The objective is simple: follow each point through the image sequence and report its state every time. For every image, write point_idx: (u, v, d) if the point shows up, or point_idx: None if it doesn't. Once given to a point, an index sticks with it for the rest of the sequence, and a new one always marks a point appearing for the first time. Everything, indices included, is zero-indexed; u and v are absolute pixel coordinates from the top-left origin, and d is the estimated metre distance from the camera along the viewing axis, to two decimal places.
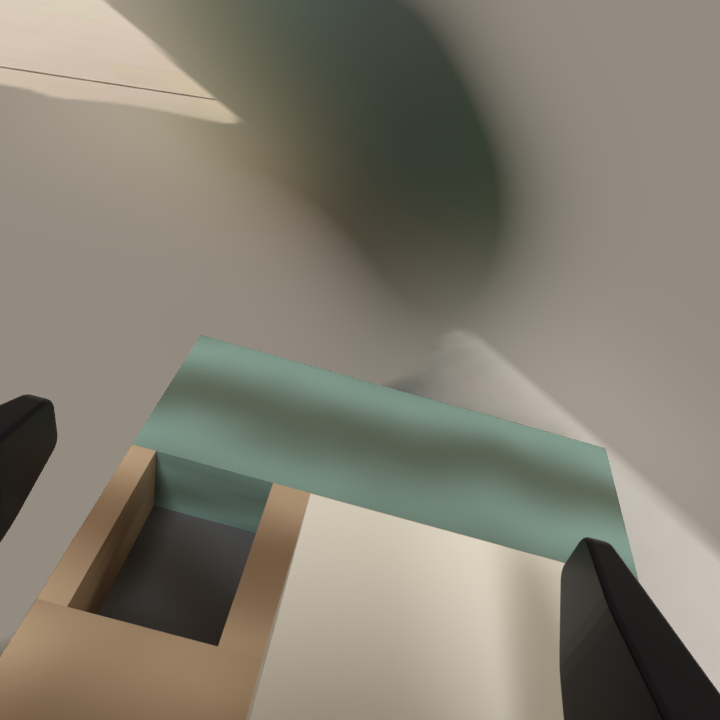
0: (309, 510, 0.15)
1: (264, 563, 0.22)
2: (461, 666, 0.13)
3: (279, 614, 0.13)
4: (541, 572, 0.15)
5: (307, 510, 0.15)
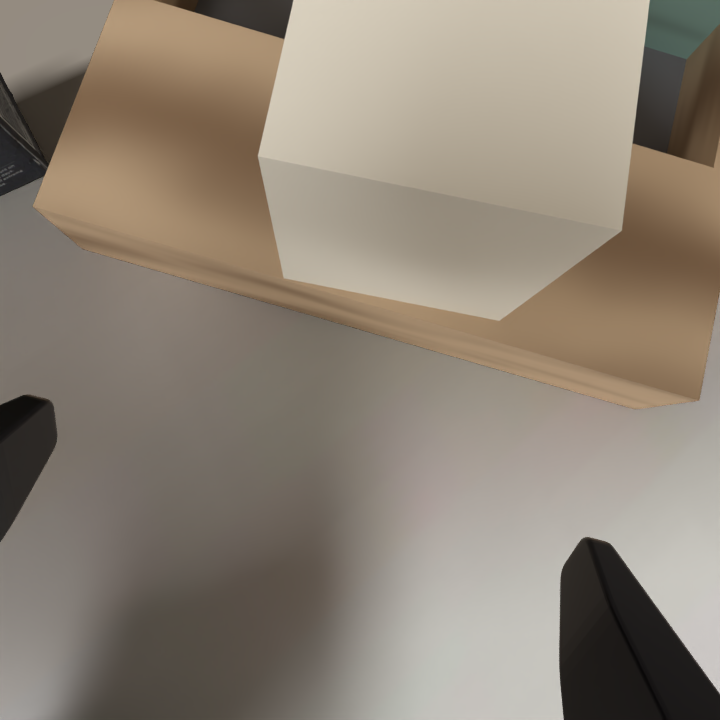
0: None
1: None
2: None
3: None
4: None
5: None
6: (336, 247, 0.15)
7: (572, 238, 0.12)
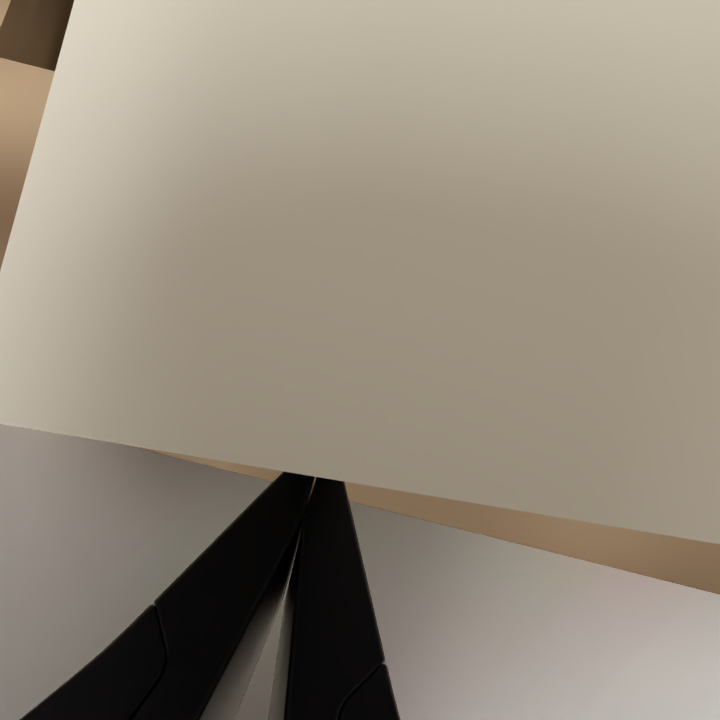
0: None
1: None
2: (480, 20, 0.06)
3: None
4: None
5: None
6: None
7: None
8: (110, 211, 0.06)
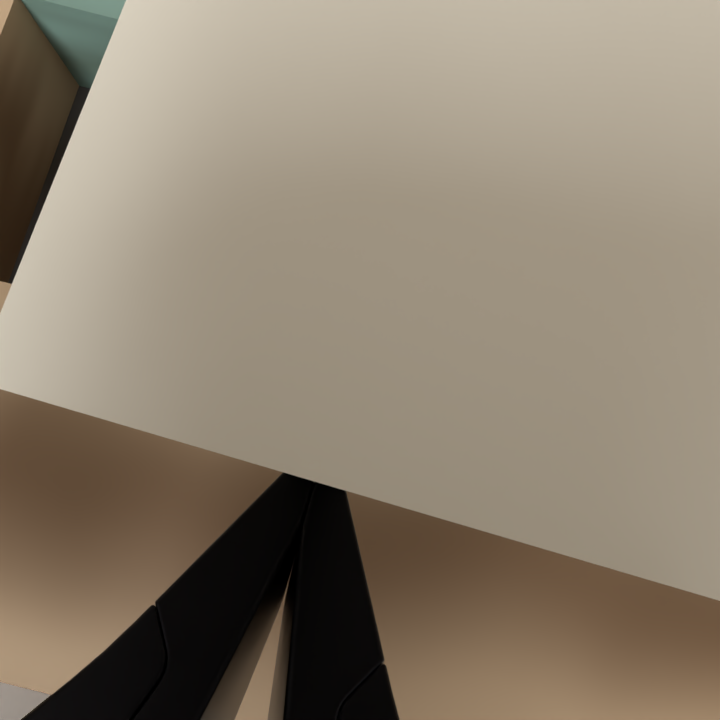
0: None
1: None
2: (523, 52, 0.06)
3: None
4: None
5: None
6: None
7: None
8: (140, 198, 0.06)
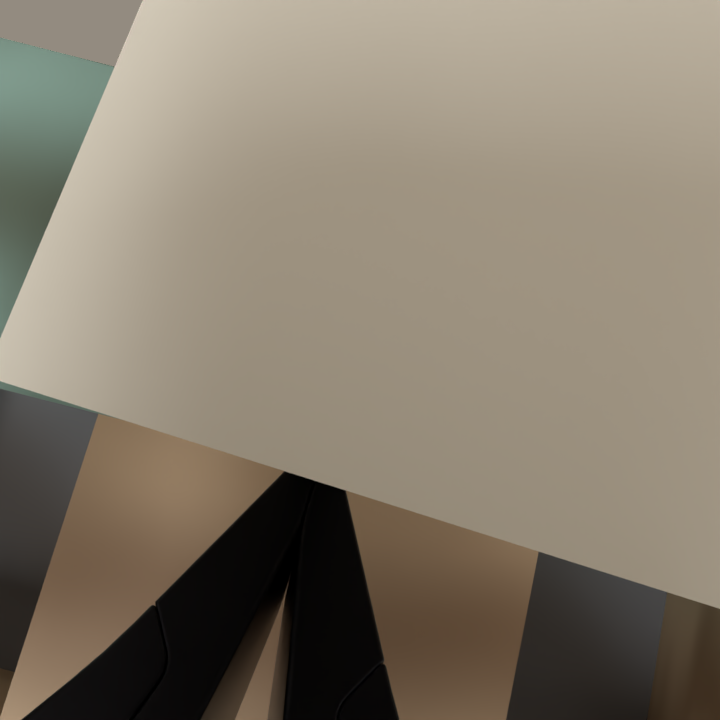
0: None
1: (72, 592, 0.13)
2: (546, 53, 0.06)
3: None
4: None
5: None
6: None
7: None
8: (156, 194, 0.06)
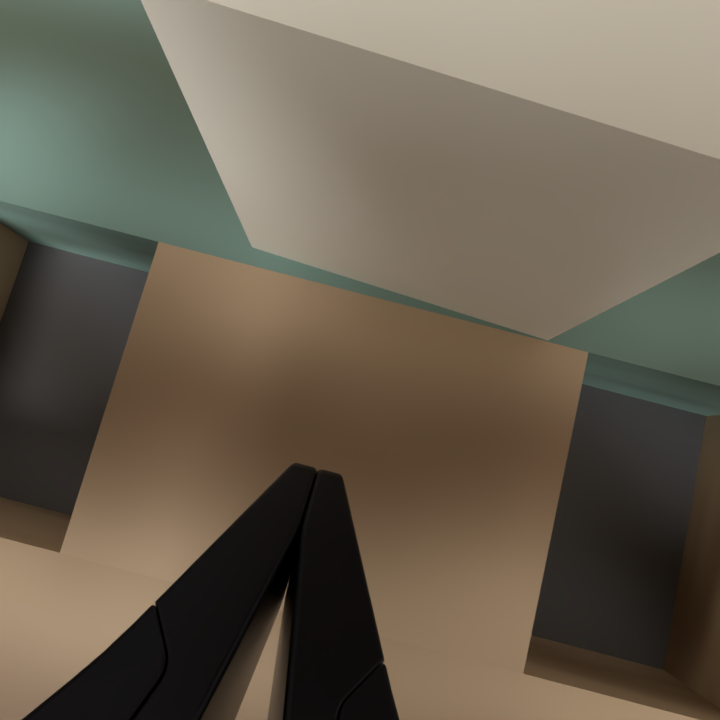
0: None
1: (137, 406, 0.13)
2: None
3: None
4: None
5: None
6: (310, 199, 0.10)
7: (717, 207, 0.07)
8: None
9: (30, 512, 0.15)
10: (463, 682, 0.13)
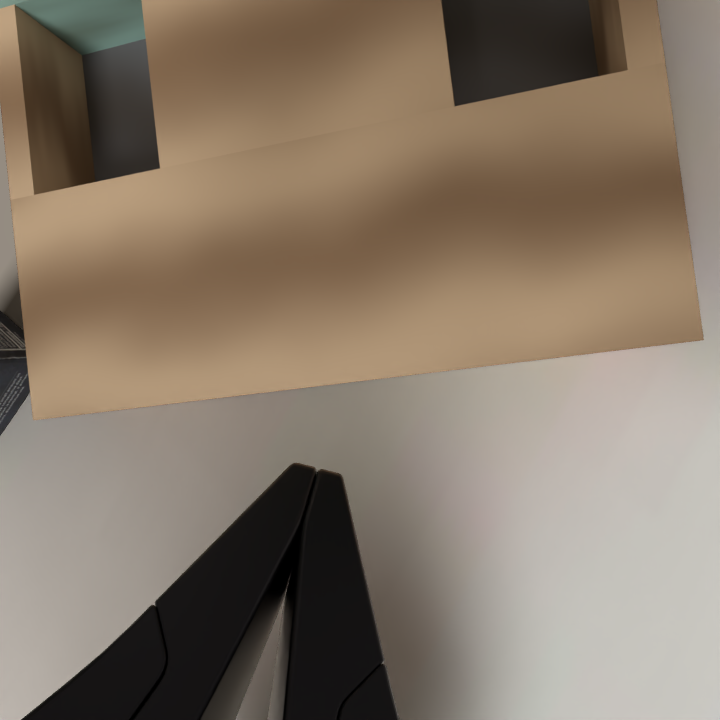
0: None
1: (166, 68, 0.21)
2: None
3: None
4: None
5: None
6: None
7: None
8: None
9: None
10: (418, 129, 0.19)
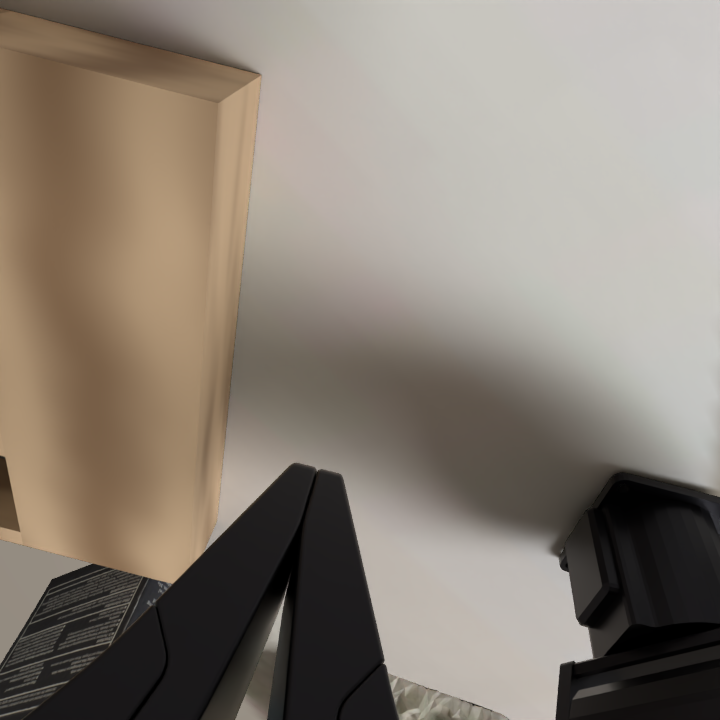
0: None
1: None
2: None
3: None
4: None
5: None
6: None
7: None
8: None
9: None
10: None
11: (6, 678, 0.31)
